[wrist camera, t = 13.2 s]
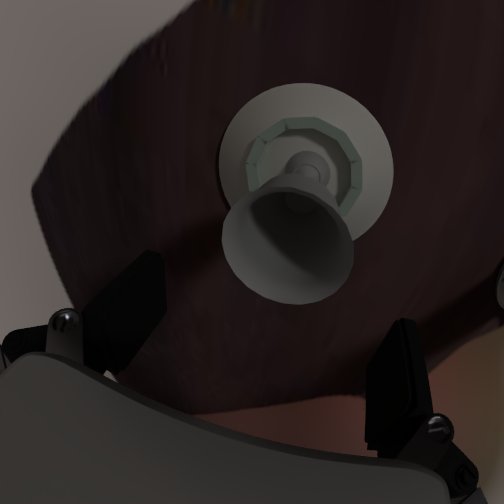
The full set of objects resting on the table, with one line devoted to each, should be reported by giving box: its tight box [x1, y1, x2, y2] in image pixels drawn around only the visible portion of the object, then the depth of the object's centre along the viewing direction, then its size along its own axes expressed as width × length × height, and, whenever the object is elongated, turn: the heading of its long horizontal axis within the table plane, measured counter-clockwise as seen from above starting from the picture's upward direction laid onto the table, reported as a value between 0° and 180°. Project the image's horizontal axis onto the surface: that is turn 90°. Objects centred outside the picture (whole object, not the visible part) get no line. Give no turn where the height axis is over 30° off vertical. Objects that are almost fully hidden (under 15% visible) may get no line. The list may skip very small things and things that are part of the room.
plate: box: [219, 83, 393, 241], centre depth 30 cm, size 20×20×2 cm
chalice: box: [222, 151, 354, 305], centre depth 22 cm, size 7×7×18 cm
